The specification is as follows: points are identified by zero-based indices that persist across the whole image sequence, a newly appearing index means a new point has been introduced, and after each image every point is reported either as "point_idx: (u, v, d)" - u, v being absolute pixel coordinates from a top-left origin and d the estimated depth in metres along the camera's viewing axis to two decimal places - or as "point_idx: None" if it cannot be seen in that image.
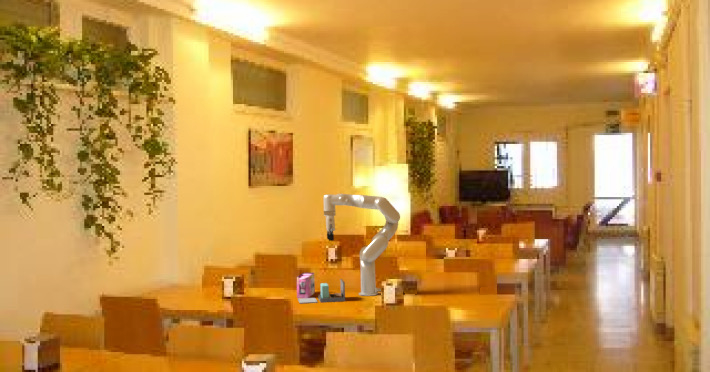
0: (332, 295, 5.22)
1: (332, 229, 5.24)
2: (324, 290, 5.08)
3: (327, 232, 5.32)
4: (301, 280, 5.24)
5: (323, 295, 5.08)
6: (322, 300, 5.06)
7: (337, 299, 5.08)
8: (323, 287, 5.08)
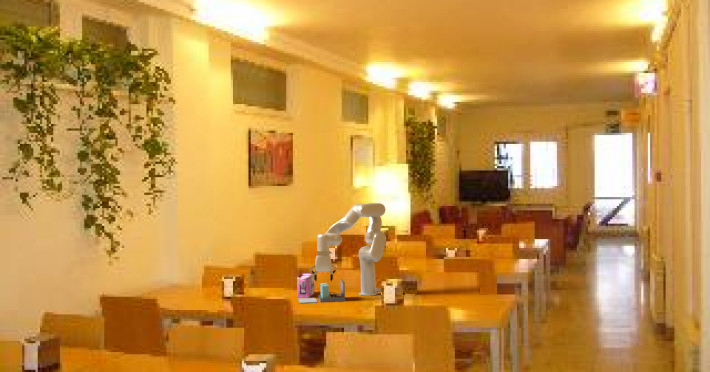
0: (332, 295, 5.22)
1: None
2: (324, 290, 5.08)
3: None
4: (301, 280, 5.24)
5: (323, 295, 5.08)
6: (322, 300, 5.06)
7: (337, 299, 5.08)
8: (323, 287, 5.08)
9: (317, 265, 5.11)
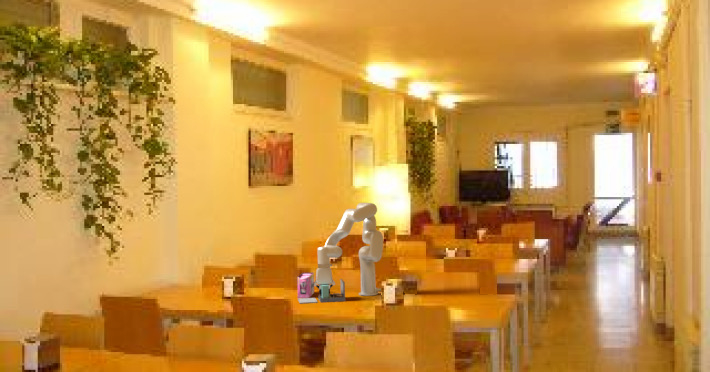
0: (332, 295, 5.22)
1: None
2: (324, 290, 5.08)
3: (320, 288, 5.12)
4: (302, 280, 5.24)
5: (323, 295, 5.08)
6: (322, 300, 5.06)
7: (337, 299, 5.08)
8: (323, 287, 5.08)
9: (318, 278, 5.11)
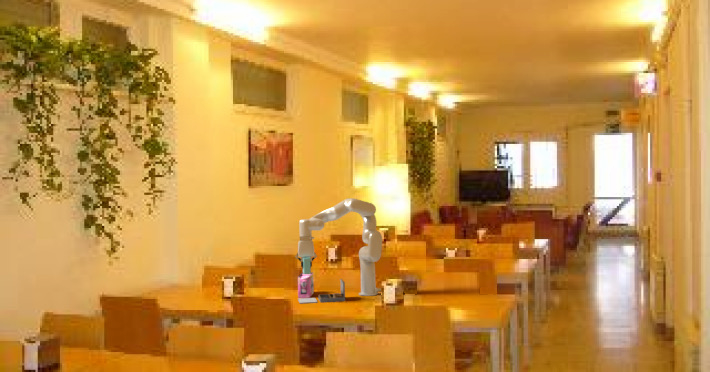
0: (332, 295, 5.22)
1: None
2: (306, 262, 5.06)
3: (302, 260, 5.10)
4: (302, 280, 5.25)
5: (305, 267, 5.06)
6: (322, 300, 5.06)
7: (337, 299, 5.08)
8: (305, 259, 5.06)
9: (299, 250, 5.09)
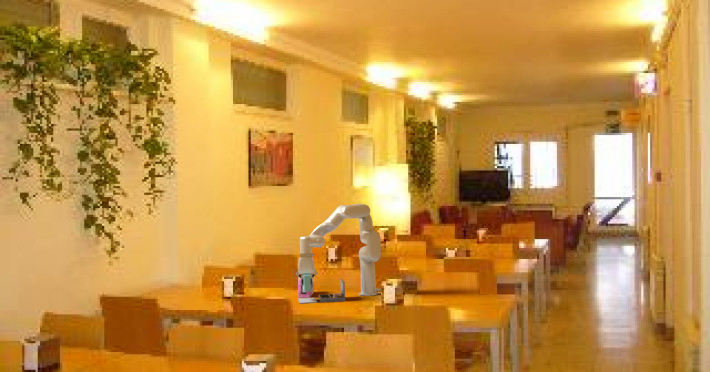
0: (332, 295, 5.22)
1: None
2: (306, 279, 5.06)
3: (302, 277, 5.11)
4: None
5: (305, 284, 5.06)
6: (322, 300, 5.06)
7: (337, 299, 5.08)
8: (305, 276, 5.06)
9: (300, 267, 5.09)
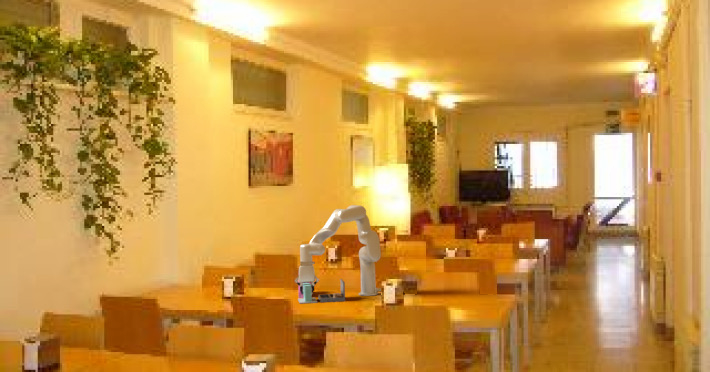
0: (332, 295, 5.22)
1: None
2: (307, 290, 5.06)
3: (301, 285, 5.11)
4: None
5: (306, 295, 5.06)
6: (322, 300, 5.06)
7: (337, 299, 5.08)
8: (306, 287, 5.06)
9: (300, 275, 5.10)
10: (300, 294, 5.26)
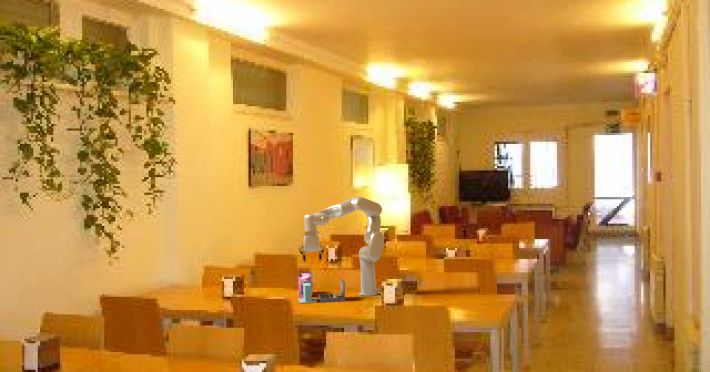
0: (332, 295, 5.22)
1: None
2: (307, 290, 5.06)
3: (304, 254, 5.13)
4: (303, 280, 5.25)
5: (306, 295, 5.06)
6: (322, 300, 5.06)
7: (337, 299, 5.08)
8: (306, 287, 5.06)
9: (305, 245, 5.12)
10: (300, 294, 5.26)
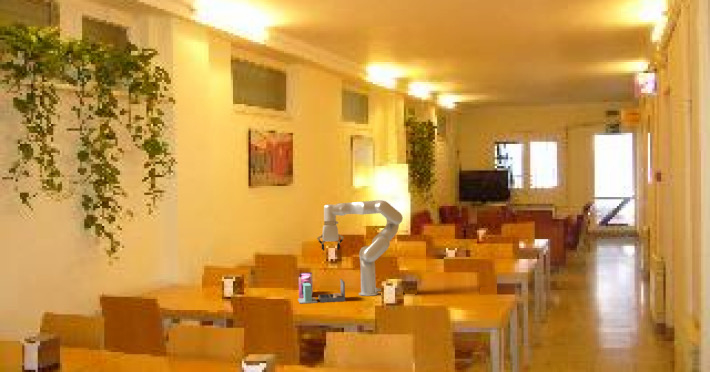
0: (332, 295, 5.22)
1: None
2: (307, 290, 5.06)
3: (323, 243, 5.24)
4: (303, 280, 5.25)
5: (306, 295, 5.06)
6: (322, 300, 5.06)
7: (337, 299, 5.08)
8: (306, 287, 5.06)
9: (324, 235, 5.23)
10: (301, 294, 5.26)
